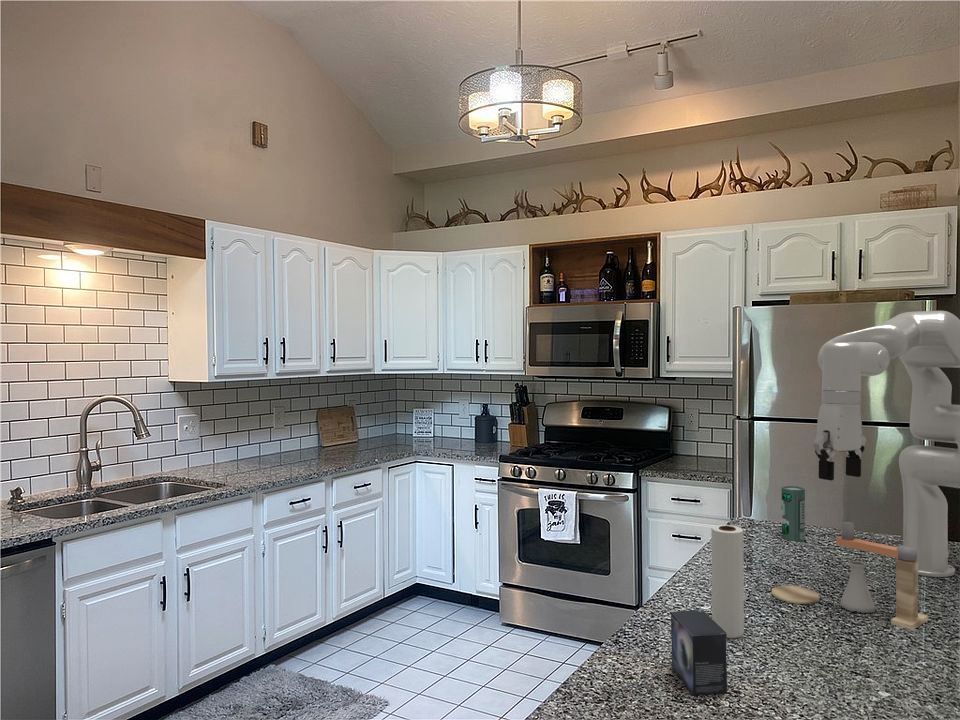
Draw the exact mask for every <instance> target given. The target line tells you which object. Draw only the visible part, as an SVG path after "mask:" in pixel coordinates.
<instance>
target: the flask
mask: <svg viewBox="0 0 960 720" xmlns="http://www.w3.org/2000/svg"><path fill="white" fill-rule="evenodd" d="M848 563H849V566H850V575H849V579H848V581H847V584H846V586H845V589H844V591H843V594H842V596H841V598H840V601H839V607H841V606H842V607H841V608H843V607H844V608H845V610H846V609H847V610H846V611H848V610H851V611H850V612H854V611H857V612H856V613H860V612H861V613H862V614H865V613H866V614H868V613H876V606H875V603H874V600H873V597H872V596H871V595H872V594H871V593H870V590H869V586H868V583H867V582H866V575H865V568H866V562H864V561H860V560H859V561H858V560H849V562H848ZM844 608H843V609H844Z"/></svg>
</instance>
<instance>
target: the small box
mask: <svg viewBox="0 0 960 720" xmlns="http://www.w3.org/2000/svg"><path fill="white" fill-rule="evenodd" d="M670 630H671V631H670V632H671V633H670V634H671V636H670V637H671V645H670V646H671V668H672V669H673V670H674V672H675V673H676V674H677V676H678V677H679V678H680V680H681V681H682V683H683V684H684V685H685V687H686V688H687V689H688V691H689V692H690V693H691V695H692V696H707V695H708V696H710V695H725V694H728V692H729V691H728V690H729V689H728V674H727V673H728V670H727V669H728V668H727V667H728V666H727V633H726V632H725V631H724V630H723V629H722V628H721V627H720V626H719V625H718V624H717V623H716V622H715V621H714V620H713V619H712V617H711V616H710V615H708V613H707V612H705V611H704V610H703V609H692V610H691V609H689V610H677V611H670Z"/></svg>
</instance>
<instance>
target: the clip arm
mask: <svg viewBox="0 0 960 720" xmlns="http://www.w3.org/2000/svg"><path fill="white" fill-rule="evenodd" d="M835 544H836V545H837V546H841V547H845V548H851V549H855V550H860V551H864V552H869V553H872V554H879V555H883V556H887V557H892V558H896V559H898V558H899V559H902V560H907V561H916V560H917V548H916V547H913V546H907V545H903V544H899V545H897V546H892V545H888V544H882V543H880V542H879V543H878V542H874V541H873V542H872V541H868V540H864V539H858V538H855V523H854V522H851V521H842V522H841V536H837V537H835Z"/></svg>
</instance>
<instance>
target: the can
mask: <svg viewBox="0 0 960 720" xmlns="http://www.w3.org/2000/svg"><path fill="white" fill-rule="evenodd" d="M781 538H782V539H784V540H787V541H790V542H802V541H805V540H806V488H805V487H802V486H797V485H795V486H794V485H785V486H781Z"/></svg>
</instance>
